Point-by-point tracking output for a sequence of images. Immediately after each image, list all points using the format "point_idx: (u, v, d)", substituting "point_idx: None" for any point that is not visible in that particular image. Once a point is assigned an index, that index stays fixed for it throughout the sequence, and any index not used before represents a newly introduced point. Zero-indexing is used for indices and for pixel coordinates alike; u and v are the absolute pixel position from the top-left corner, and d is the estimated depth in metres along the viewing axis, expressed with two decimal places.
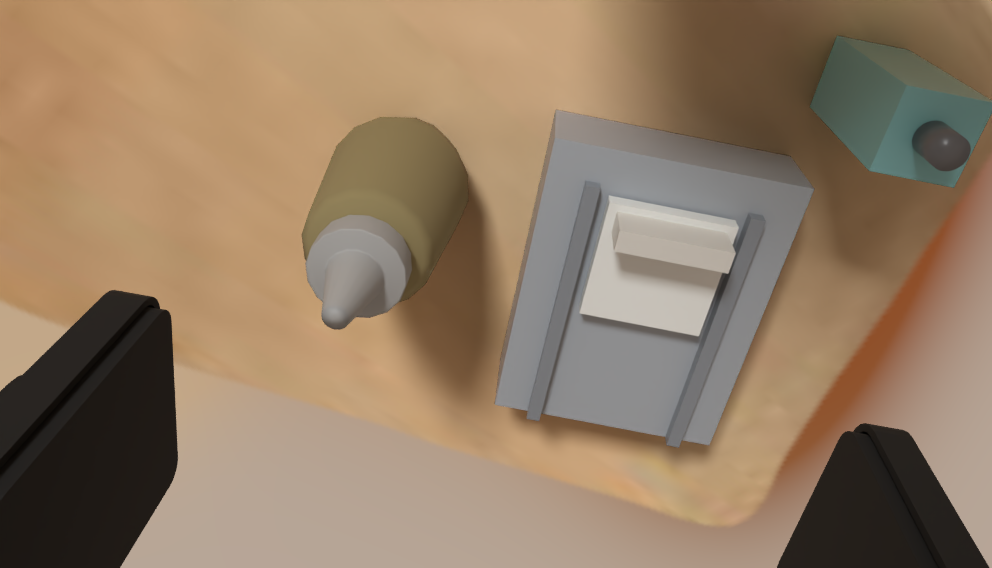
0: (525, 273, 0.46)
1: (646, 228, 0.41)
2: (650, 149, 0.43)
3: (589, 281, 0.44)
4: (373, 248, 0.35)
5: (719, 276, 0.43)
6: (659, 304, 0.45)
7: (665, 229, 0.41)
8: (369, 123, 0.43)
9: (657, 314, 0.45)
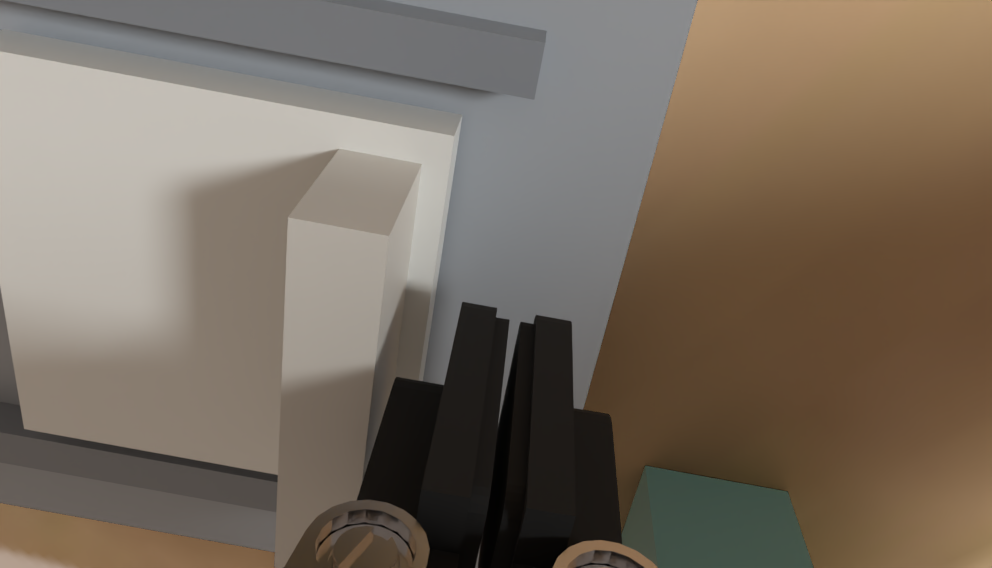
0: None
1: (391, 302, 0.11)
2: None
3: (112, 77, 0.11)
4: None
5: (239, 464, 0.14)
6: (95, 318, 0.13)
7: (389, 350, 0.12)
8: None
9: (56, 314, 0.13)
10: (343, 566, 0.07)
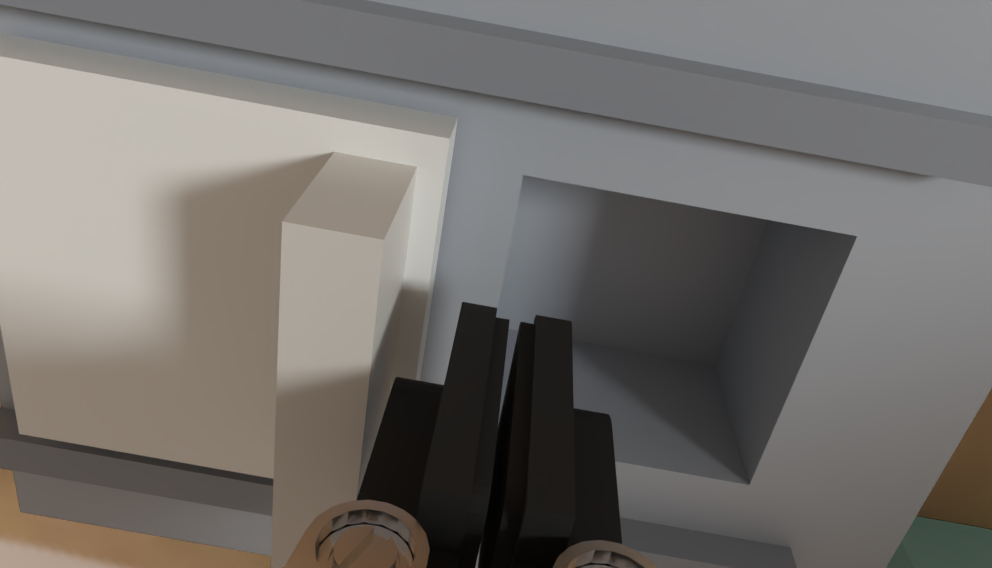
0: None
1: (387, 306, 0.11)
2: None
3: (105, 80, 0.11)
4: None
5: (235, 468, 0.14)
6: (90, 322, 0.13)
7: (385, 354, 0.12)
8: None
9: (51, 319, 0.13)
10: (343, 566, 0.07)
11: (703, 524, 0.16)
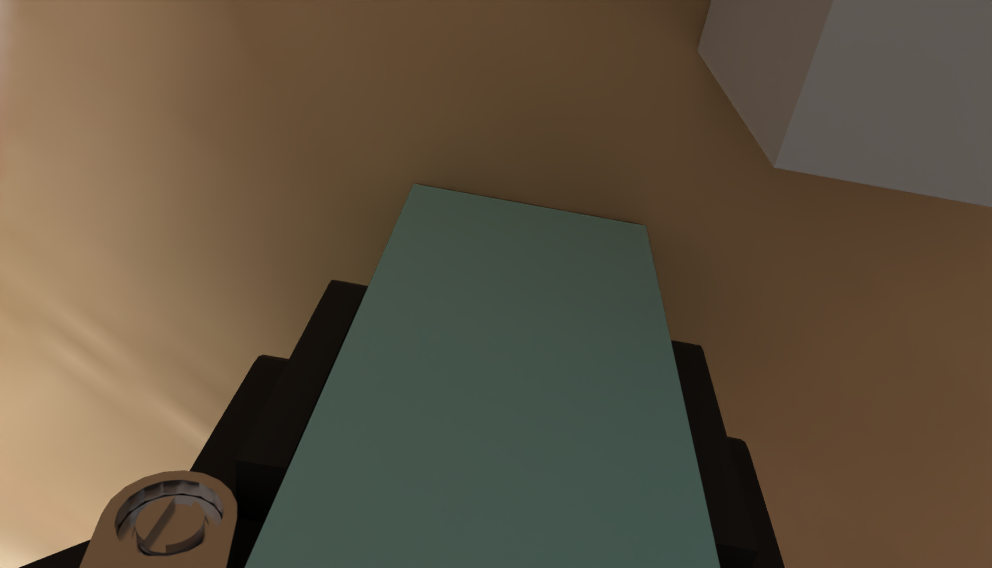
0: None
1: None
2: None
3: None
4: None
5: None
6: None
7: None
8: None
9: None
10: (149, 540, 0.07)
11: None
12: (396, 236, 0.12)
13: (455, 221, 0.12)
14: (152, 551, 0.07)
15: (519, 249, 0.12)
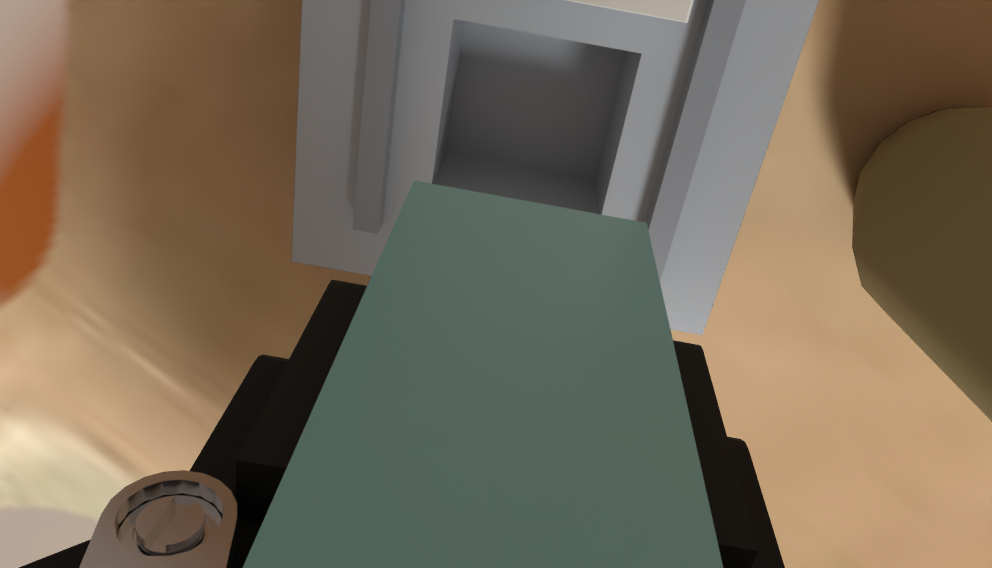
0: (783, 95, 0.23)
1: None
2: None
3: None
4: None
5: None
6: None
7: None
8: None
9: None
10: (149, 540, 0.07)
11: (394, 171, 0.25)
12: (396, 233, 0.12)
13: (455, 218, 0.12)
14: (152, 551, 0.07)
15: (520, 246, 0.12)
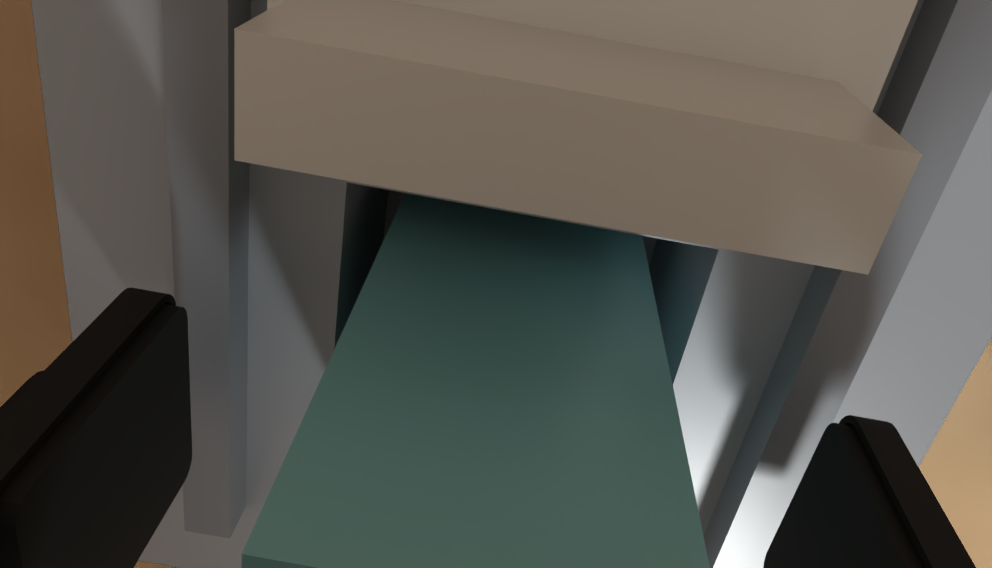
0: None
1: None
2: None
3: None
4: None
5: None
6: None
7: None
8: None
9: None
10: None
11: (258, 430, 0.14)
12: None
13: None
14: None
15: None
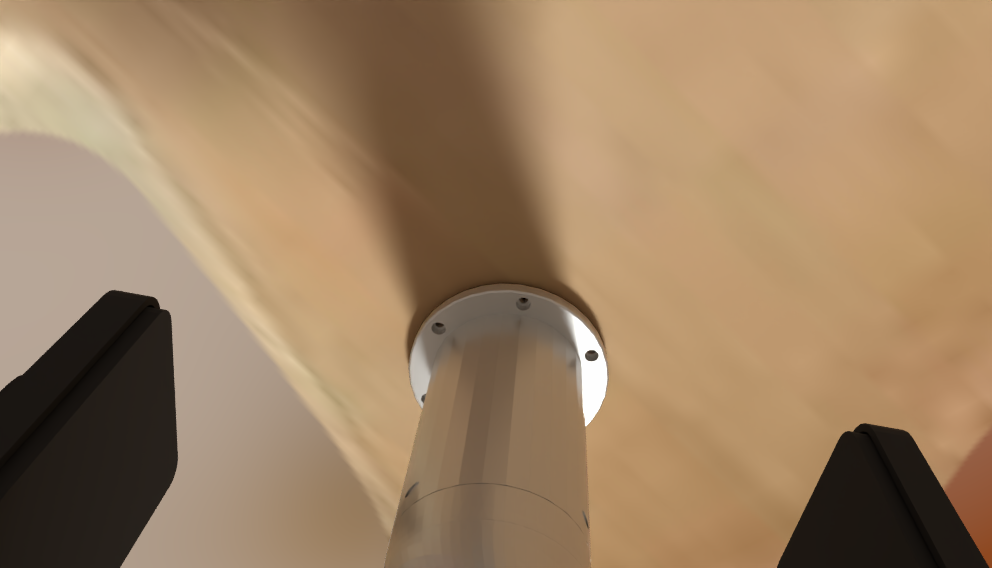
0: None
1: None
2: None
3: None
4: None
5: None
6: None
7: None
8: None
9: None
10: None
11: None
12: None
13: None
14: None
15: None
